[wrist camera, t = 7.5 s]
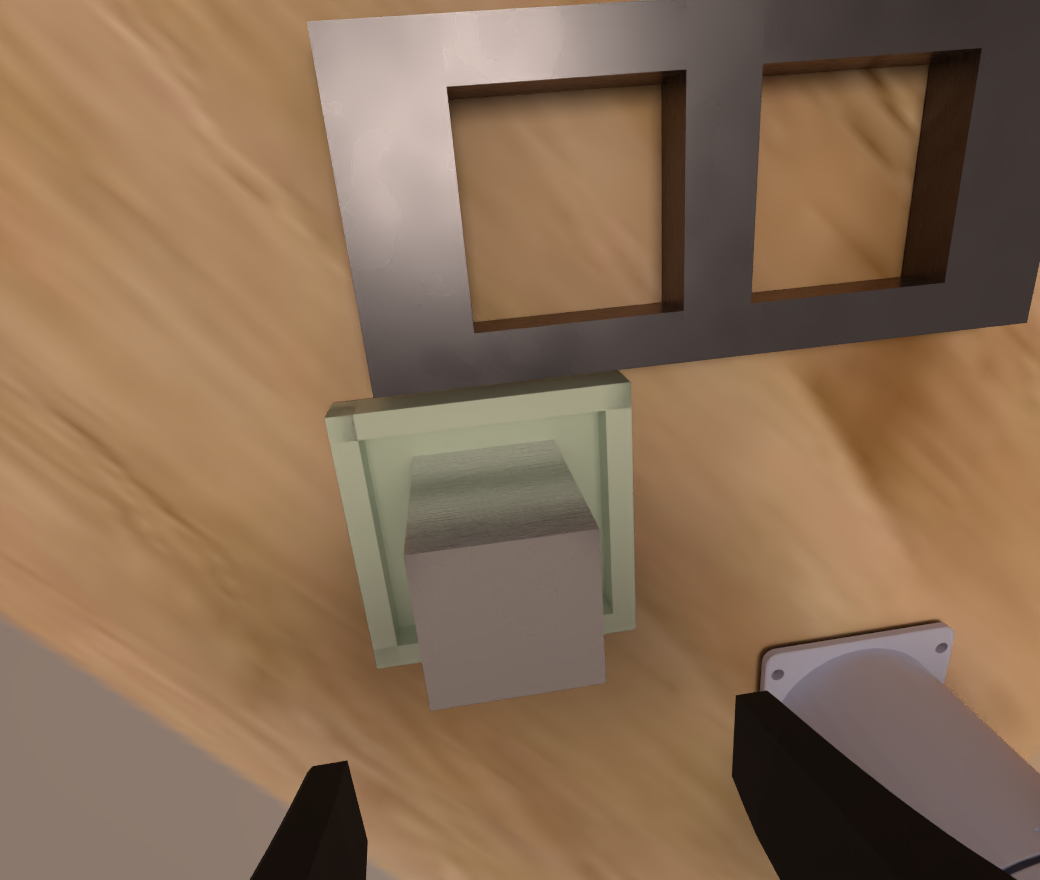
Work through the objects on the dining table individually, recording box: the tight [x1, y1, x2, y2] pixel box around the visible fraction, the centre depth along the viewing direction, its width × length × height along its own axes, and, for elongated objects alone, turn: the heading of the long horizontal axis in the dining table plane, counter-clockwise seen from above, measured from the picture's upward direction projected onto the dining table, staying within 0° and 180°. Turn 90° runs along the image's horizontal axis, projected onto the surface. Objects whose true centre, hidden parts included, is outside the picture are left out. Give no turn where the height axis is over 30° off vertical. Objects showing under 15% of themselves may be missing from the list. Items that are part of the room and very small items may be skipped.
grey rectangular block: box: [403, 440, 606, 711], centre depth 17 cm, size 4×4×6 cm
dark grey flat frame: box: [307, 0, 1040, 398], centre depth 17 cm, size 20×9×2 cm, turn 95°
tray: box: [325, 370, 636, 669], centre depth 20 cm, size 9×9×2 cm
